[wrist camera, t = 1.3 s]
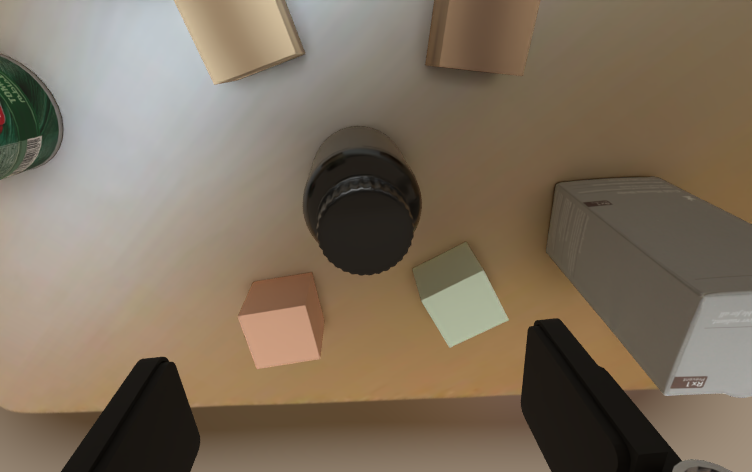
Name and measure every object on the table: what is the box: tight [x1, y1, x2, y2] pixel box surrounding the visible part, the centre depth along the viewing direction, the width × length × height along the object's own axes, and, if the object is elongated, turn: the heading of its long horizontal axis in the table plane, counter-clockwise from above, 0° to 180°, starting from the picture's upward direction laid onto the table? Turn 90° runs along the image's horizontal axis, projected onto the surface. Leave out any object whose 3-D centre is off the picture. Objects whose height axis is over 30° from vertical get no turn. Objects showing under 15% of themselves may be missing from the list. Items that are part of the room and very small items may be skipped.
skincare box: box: [546, 177, 752, 398], centre depth 26 cm, size 8×7×16 cm
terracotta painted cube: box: [238, 272, 324, 369], centre depth 33 cm, size 5×5×5 cm
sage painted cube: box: [412, 242, 509, 348], centre depth 32 cm, size 5×5×5 cm
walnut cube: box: [425, 0, 540, 76], centre depth 25 cm, size 5×5×5 cm
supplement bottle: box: [303, 126, 422, 275], centre depth 25 cm, size 7×7×12 cm
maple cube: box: [174, 0, 305, 85], centre depth 24 cm, size 5×5×5 cm
